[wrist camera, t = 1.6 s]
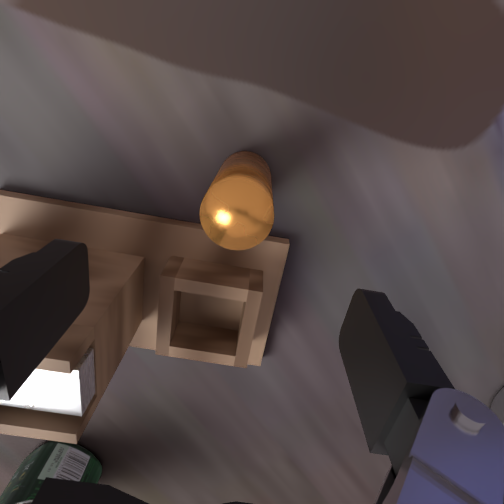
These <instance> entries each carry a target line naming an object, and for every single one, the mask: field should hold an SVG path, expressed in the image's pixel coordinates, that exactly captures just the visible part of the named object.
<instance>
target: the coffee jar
mask: <svg viewBox="0 0 504 504" xmlns="http://www.w3.org/2000/svg"><path fill="white" fill-rule="evenodd" d="M101 473H102V465H101V464H100V462H99V461H98V460H97V459H96V457H95V456H94V455H93V454H92V453H91V452H90V451H88V450H87V449H85V448H83V447H81V446H79V445H77V444H72V443H65V442H58V441H49V442H47V443H45V444H43V445H41V446H40V447H38V448H37V449H36V450H34V451H33V452H32V453H31V454H30V455H29V456H28V457H27V458H26V459H25V460H24V461H23V462H22V463H21V465H20V466H19V468H18V469H17V471H16V473H15V474H14V476H13V477H12V479H11V480H10V482H9V484H8V485H7V487H6V488H5V490H4V492H3V493H2V495H1V496H0V504H16V503H20V502H24V501H28V500H34V498H35V496H36V494H37V492H38V491H39V489H40V487H41V485H42V483H43V482H44V480H45V478H46V477H49V478H57V479H64V480H72V481H80V482H88V483H96V484H97V483H98V481H99V478H100V476H101Z"/></svg>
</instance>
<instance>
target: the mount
mask: <svg viewBox="0 0 504 504" xmlns="http://www.w3.org/2000/svg"><path fill="white" fill-rule="evenodd" d="M54 239H63V240H69V241H75V242H81V243H84V244H86V246H87V249H88V262H89V282H90V293H89V298H88V302H87V304H86V306H85V308H84V310H83V311H82V312H81V313H80V315H79V316H78V317H77V318H76V320H75V321H74V322H73V323H72V325H71V326H70V327H69V328H68V330H67V331H66V332H65V333H64V334H63V336H62V337H61V338H60V339H59V341H58V342H57V343H56V344H55V346H54V347H53V348H52V349H51V351H50V352H49V353H48V354H47V356H46V357H45V358H44V359H43V360H42V362H41V363H40V364H39V365H38V367H37V368H36V369H39V370H46V371H52V372H59V373H66V374H71V373H72V371H73V370H74V368H75V367H76V365H77V364H78V362H79V361H80V360H81V358H82V357H83V355H84V354H85V352H86V351H87V349H88V348H93V354H94V375H95V394H94V396H93V398H92V400H91V401H90V403H89V405H88V407H87V409H86V410H85V412H84V414H83V416H82V417H81V416H74V415H67V414H60V413H53V412H46V411H39V410H32V409H25V408H18V407H11V406H4V405H0V434H8V435H15V436H22V437H29V438H36V439H44V440H51V441H58V442H65V443H73V444H77V443H78V441H79V439H80V437H81V435H82V434H83V432H84V430H85V428H86V426H87V424H88V422H89V420H90V418H91V416H92V415H93V413H94V411H95V409H96V407H97V405H98V403H99V401H100V399H101V398H102V396H103V394H104V392H105V390H106V388H107V386H108V384H109V382H110V380H111V379H112V377H113V375H114V373H115V371H116V369H117V367H118V365H119V363H120V362H121V360H122V358H123V356H124V354H125V352H126V350H127V348H128V346H132V347H139V348H145V349H152V350H156V354H157V355H164V356H170V357H177V358H184V359H190V360H197V361H203V362H210V363H216V364H223V365H230V366H236V367H243V368H247V364H250V365H257V366H260V364H261V360H262V356H263V352H264V348H265V344H266V340H267V336H268V332H269V328H270V323H271V319H272V315H273V311H274V307H275V303H276V299H277V295H278V291H279V287H280V282H281V278H282V274H283V270H284V266H285V262H286V258H287V254H288V250H289V246H290V243H289V239H285V238H280V237H274V236H267V237H266V238H265V239H264V240H263V241H262V242H261V243H260V244H258V245H256V246H255V247H252V248H250V249H246V250H230V249H226V248H224V247H221V246H219V245H217V244H216V243H214V242H213V241H212V240H211V239H210V238H209V237H208V236H207V234H206V233H205V231H204V230H203V227H202V225H201V224H198V223H192V222H186V221H180V220H174V219H169V218H163V217H157V216H151V215H145V214H139V213H134V212H128V211H122V210H116V209H110V208H104V207H98V206H93V205H87V204H81V203H75V202H69V201H63V200H58V199H52V198H46V197H40V196H34V195H28V194H23V193H17V192H11V191H5V190H0V268H1V267H3V266H4V265H6V264H7V263H9V262H10V261H11V260H13V259H16V258H18V257H21V256H24V255H26V254H29V253H32V252H37V251H39V250H40V249H41V248H43V247H44V246H46V245H47V244H48V243H50V242H51V241H52V240H54Z"/></svg>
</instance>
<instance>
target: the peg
mask: <svg viewBox="0 0 504 504" xmlns="http://www.w3.org/2000/svg"><path fill="white" fill-rule="evenodd" d="M200 221H201V225H202V227H203V230H204V231H205V233H206V234H207V236H208V237H209V238H210V239H211V240H212V241H213V242H214V243H216V244H217V245H219V246H221V247H224V248H226V249H230V250H246V249H250V248H252V247H255V246H256V245H258V244H260V243H261V242H262V241H263V240H264V239H265V238H266V237H267V236H268V234H269V233H270V231H271V229H272V226H273V222H274V208H273V196H272V184H271V173H270V169H269V167H268V165H267V163H266V162H265V160H264V159H263V158H262V157H260V156H259V155H257V154H256V153H253V152H249V151H241V152H237V153H234V154H232V155H230V156H229V157H228V158H227V159H226V160H225V161H224V163H223V164H222V166H221V168H220V170H219V171H218V173H217V175H216V177H215V179H214V180H213V182H212V184H211V186H210V188H209V189H208V191H207V193H206V195H205V196H204V198H203V200H202V203H201V206H200Z"/></svg>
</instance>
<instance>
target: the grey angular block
mask: <svg viewBox="0 0 504 504" xmlns="http://www.w3.org/2000/svg"><path fill="white" fill-rule="evenodd" d="M94 394H95V375H94V354H93V348H88V349H87V351H86V352H85V354H84V355H83V357H82V358H81V360H80V361H79V362H78V364H77V365H76V367H75V368H74V370H73V371H72V373H71V374H66V373H59V372H52V371H46V370H39V369H35V370H34V372H33V373H32V374H31V375H30V377H29V378H28V379H27V380H26V381H25V383H24V384H23V385H22V386H21V388H20V389H19V390H18V391H17V393H16V394H15V395H14V396H13V398H12V399H11V400H10V401H4V400H0V405H4V406H11V407H18V408H25V409H32V410H39V411H46V412H53V413H60V414H67V415H74V416H81V417H82V416H83V414H84V412H85V410H86V409H87V407H88V405H89V403H90V401H91V400H92V398H93V396H94Z"/></svg>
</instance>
